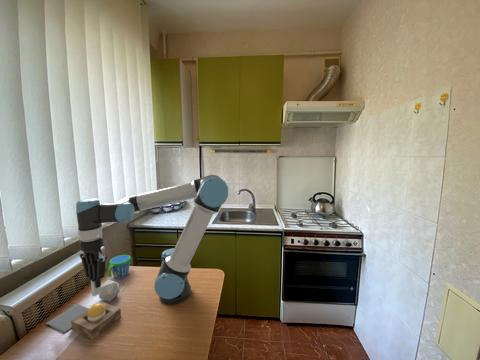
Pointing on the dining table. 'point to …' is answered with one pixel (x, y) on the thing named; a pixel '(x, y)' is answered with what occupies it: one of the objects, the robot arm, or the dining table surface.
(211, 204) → the robot arm
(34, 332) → the dining table surface
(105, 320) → the brown square tray
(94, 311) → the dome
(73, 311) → the coaster
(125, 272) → the snack cup
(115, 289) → the die
